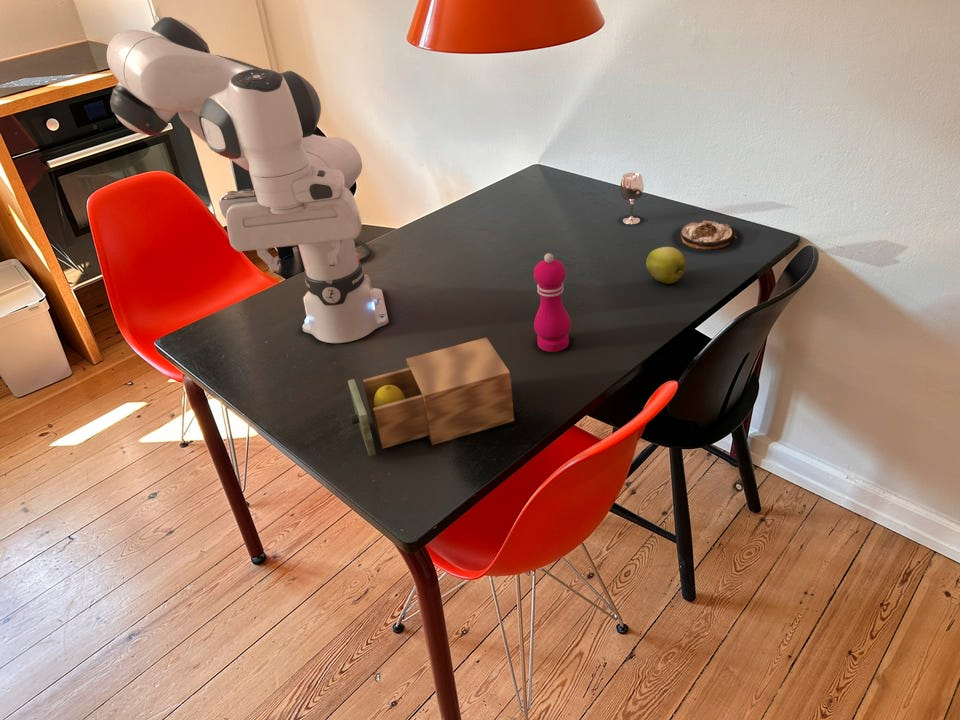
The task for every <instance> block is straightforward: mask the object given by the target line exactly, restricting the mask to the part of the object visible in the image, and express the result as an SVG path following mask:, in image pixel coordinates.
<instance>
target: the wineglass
mask: <svg viewBox="0 0 960 720" xmlns="http://www.w3.org/2000/svg"><path fill="white" fill-rule="evenodd" d="M621 177H622V178H621V181H620V187H619V190H620V191H619V192H620V196H621V197H622V198H623V199H624V200H626V201H629V209H630V216H627V217H624V218H623V219H622V223H624V224H626V225H637V224H640V222H641V219H640V218H639V217H637V216H634V214H633V209H634V205H635V204H634V201H637V200H640V199H641V197H642V196H643V194H644V189H645V187H644V180H643V176H642V174H641V173H639V172H627V173H624V174H623V175H622V176H621Z"/></svg>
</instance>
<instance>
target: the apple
mask: <svg viewBox="0 0 960 720" xmlns="http://www.w3.org/2000/svg"><path fill="white" fill-rule="evenodd" d="M686 261H687V260H686V258H685V255H684V254H683V253H682V252H681V251H680V249H678V248H675V247H672V246H662V247H658V248H655V249H653V250H652V251H650V253H649V254H648V255H647V258H646V262H645V264H646V269H647V271H648V273H649V274H650V276H651V277H652V278H653V279H655V280H656V281H658V282H659V283H662V284H667V285H669V284H671V285H672V284H674V283H677V282H678V281H679V280H680V279H681V278H682V277H683V275H684V274H685V272H686V267H687V262H686Z"/></svg>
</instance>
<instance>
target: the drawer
mask: <svg viewBox="0 0 960 720" xmlns="http://www.w3.org/2000/svg"><path fill="white" fill-rule="evenodd" d="M362 383H363V387H364V388H363V389H364V392H365V396H366V400H367V405H368V409H369V410H368V411H369V415H370V418H371V421H372V424H373V427H374V430H375V431H376V434H377V435H376V436H377V437H378V440H379V443H380V447H381V448H382V449H387V448H390V447H393V446H397V445H401V444H404V443H407V442H411V441H414V440H418V439H422V438H425V437H428V435H430V433H429V427H428V422H427V416H426V410H425V404H424V398H423V395H422V393H421V391H420V389H419V387H418V385H417V383H416V381H415V379H414V376H413V374H412V372H411V370H410V368H408V367H405V368H402V369H397V370H394V371H390V372H387V373H384V374H380V375H379V374H378V375H375V376H372V377H367V378H364V379H362ZM347 384H348V389H349V392H350V396H351V400H352V405H353V409H354V413H355V414H351V415H349V416H350V420H351V425H356V424H358V427H359V430H360V433H361V436H362V439H363V442H364V445H365V448H366V451H367V454H368V456H369V457H373V456H376V455H377V452H376V447H375V444H374V438H373V435H372V430H371V426H370V422H369V421H370V420H369V417H368V413H367V410H366V407H365V405H364V402H363V399H362V396H361V393H360V391H359V388H358V385H357V383H356V378H352V379H349V380H347ZM385 385H394V386H396V387H398V388H399V389H400V390H401V391H402V393H403V394H404V396H405V399H404V400H400V401H397V402H393V403H389V404H386V405H382V406H378V407H375V408H374V397H375V394H376V392H377V391H378V389H380V388H381V387H382V386H385Z"/></svg>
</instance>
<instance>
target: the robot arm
mask: <svg viewBox="0 0 960 720" xmlns="http://www.w3.org/2000/svg"><path fill="white" fill-rule="evenodd" d="M106 62H107V65H108V68H109V70H110V71H111V73H112V75H113V77H115V79H116V80H117V81H118V82H117V84H116V86H115V87H114V88H112V92H111V95H110V100H109V105H110V109H111V112H112V113H113V114H114V115H115V117H116V118H117V119H118V121H119V122H120V123H121V124H122V125H123V126H125V127H126V128H127V129H129V130H131V131H133V132H135V133H137V134H141V135H148V136H149V137H152V136H158V135H160V134H161V133H163V132H164V131H165V129H166V128H167V127H168V126H169V122H170V121H171V120H172V119H173V117H174V116H175V115H176V114H177V113H178V116H179V119H180V120H181V122H182V123H183V124H184V125H185V126H186V127H187V128H188V129H189V130H190V131H191V132H192V133H193V134H195V135H196V136H197V137H198V138H199V139H200V140H202V141H203V143H205V144H206V145H207V146H208V148H209V149H210V150H211V151H212V152H215V154H217V155H220V156H222V157H224V158H226V159H229V160H230V161H232V162H233V163H234V164H236V165H238V166H239V167H241V168H242V169H244V170H246V171H247V172H249V176H250V181H251V184H252V186H253V188H247V189H246V188H245V189H242V190H229V191H226V192H225V194H223V195H221V197H220V198H219V200H218V205H219V209H220V213H221V215H222V216H223V218H224V219H226V220H225V221H226V229H227V235H228V240H229V244H230V246H231V248H233V250H235V251H236V252H247V251H256V254H257V256H258V257H259V258H260V259H261V260H262V262H264V263H265V264H267V266H268V269H269V270H268V271H269V272H270V274H274V273H281V270H282V265H281V263H280V262H281V261H280V258H279V257H273V256H272V255H271V254H270V252H269V249H274V248H284V247H292V246H298V249H299V253H300V257H301V261H302V264H303V267H304V282H305V285H306V289H307V292H306V293H305V295H303V305H304V310H305V314H306V315H305V316H306V318H305V319H304V323H303V324H302V331H303V332H304V333H306V334H310V335H312V336H313V337H314V338H316V339H317V340H319V341H321V342H324V343H328V344H329V343H330V344H344V343H350V342H353V341H357V340H359V339H360V340H361V339H363V338H364V337H366V336H368V335H370V334H371V333H372V332H374V331H375V330H377V329H379V328H381V327H384V326H386V325H387V324H389V322H390V320H389V316H388V312H387V307H386V302H385V297H384V294H383V290H382V289H380V288H378V287H372V283H371V278H370V276H369V275H368V274H366V273H364V268H363V266H362V262H364V261H367V260H369V258H370V257H371V256H372V249H371V248H370V247H369V246H368V245H367V244H366V243H364V242H362V241H361V240H356V239H357V238H359V236H360V234H361V232H362V226H363V225H362V224H363V223H362V218H361V215H360V210H359V208H358V205H357V202H356V199H355V197H354V195H353V192H352V191H351V190H350V189H351V187H352V186H353V185H354V184H355V182H357V180H358V179H359V178H360V176H361V173H362V171H363V161H362V158H361V157H362V156H361V155H360V153H359V150H358V149H357V148H356V147H355V146H354V144H352V142H351V141H349V140H347V139H345V138H344V137H340V136H339V137H337V136H335V137H331V136H322V135H318V134H314V133H315V130H316V129H317V127H318V124H319V121H320V118H321V114H322V105H321V99H320V97H319V95H318V92H317V90H316V88H315V87H314V86H313V84H311V82H310V81H308V79H306V78H304V77H303V76H302V75H300V74H299V73H298V72H297V73H296V72H295V71H292V70H286V71H284V72H278V71H275V70H273V69H268V68H262V67H259V66H256V65H253V64H250V63H247V62H245V61H243V60H239V59H236V58H231V57H227V56H223V55H219V54H218V55H217V54H214V53H211V51H210V48H209V44H208V43H207V42H206V41H205V39H204V37H203V36H202V35H201V33H200V32H199V31H198V30H197V29H196V28H195V27H193V26H192V25H191V24H190V23H187V22H185V21H184V20H180V19H176V18H173V17H171V16H164V17H162V18H161V19H159V20H158V21H157V22H155V24H154V25H153V26H152V27H151V31H145V30H141V29H140V30H139V29H127V30H126V29H125V30H122V31H120V32H119V33H118V32H117V34H115V36H113V37H112V38H111V40H110V41H109V43H108V45H107V49H106ZM357 245H359V246H361V247H363V248H364V249H365V250H366V251H367V254H366V255H365V256H363V257H360V254H359V252H357V248H356V246H357Z"/></svg>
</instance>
